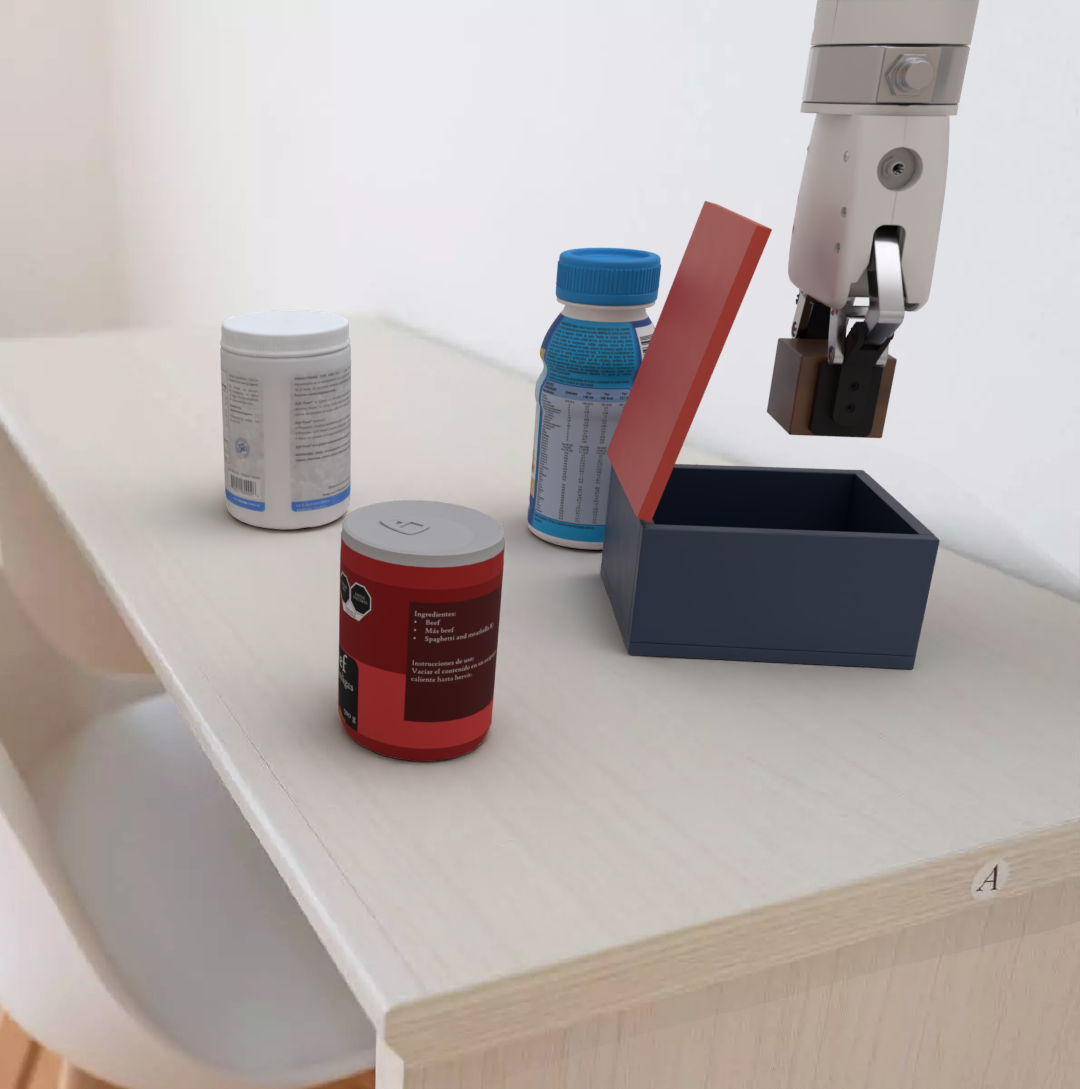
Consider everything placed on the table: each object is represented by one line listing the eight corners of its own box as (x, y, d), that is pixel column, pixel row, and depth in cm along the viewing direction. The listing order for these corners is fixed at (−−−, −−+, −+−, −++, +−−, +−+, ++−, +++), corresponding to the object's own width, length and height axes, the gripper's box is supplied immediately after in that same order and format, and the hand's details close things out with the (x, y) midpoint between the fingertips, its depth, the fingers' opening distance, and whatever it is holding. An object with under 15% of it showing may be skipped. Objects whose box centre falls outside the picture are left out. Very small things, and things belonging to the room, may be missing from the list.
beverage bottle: (549, 557, 85) (574, 263, 78) (508, 516, 93) (527, 246, 86) (664, 549, 86) (699, 260, 79) (614, 510, 94) (641, 243, 87)
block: (766, 412, 74) (777, 337, 72) (853, 415, 73) (867, 340, 71) (789, 435, 69) (802, 356, 67) (882, 438, 68) (897, 358, 67)
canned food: (368, 678, 68) (374, 490, 64) (510, 709, 65) (525, 512, 61) (312, 742, 62) (314, 537, 58) (466, 779, 58) (479, 565, 54)
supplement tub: (349, 493, 98) (353, 308, 93) (350, 535, 89) (354, 333, 84) (228, 491, 99) (225, 307, 93) (217, 532, 90) (213, 332, 85)
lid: (717, 204, 73) (704, 200, 73) (772, 229, 62) (757, 224, 62) (618, 456, 80) (606, 453, 80) (650, 522, 68) (636, 518, 68)
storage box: (843, 583, 81) (863, 469, 78) (913, 669, 69) (940, 539, 66) (600, 572, 83) (611, 461, 80) (628, 655, 71) (642, 528, 68)
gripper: (1031, 87, 56) (949, 468, 63) (898, 83, 72) (844, 388, 78) (859, 86, 57) (796, 462, 64) (765, 83, 73) (722, 384, 79)
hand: (823, 417), depth 71 cm, fingers closed on block, 5 cm apart
